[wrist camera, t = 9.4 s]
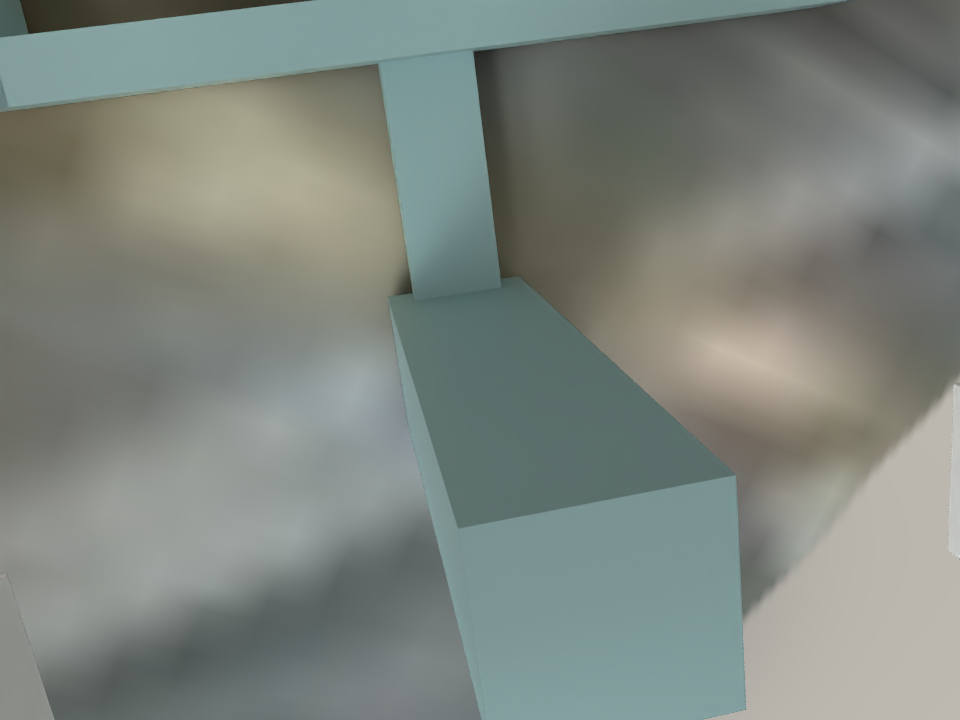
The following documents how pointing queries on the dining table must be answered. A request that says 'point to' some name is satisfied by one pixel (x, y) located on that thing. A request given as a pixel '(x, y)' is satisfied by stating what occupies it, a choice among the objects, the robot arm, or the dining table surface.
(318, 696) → the dining table surface
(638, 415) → the sled
